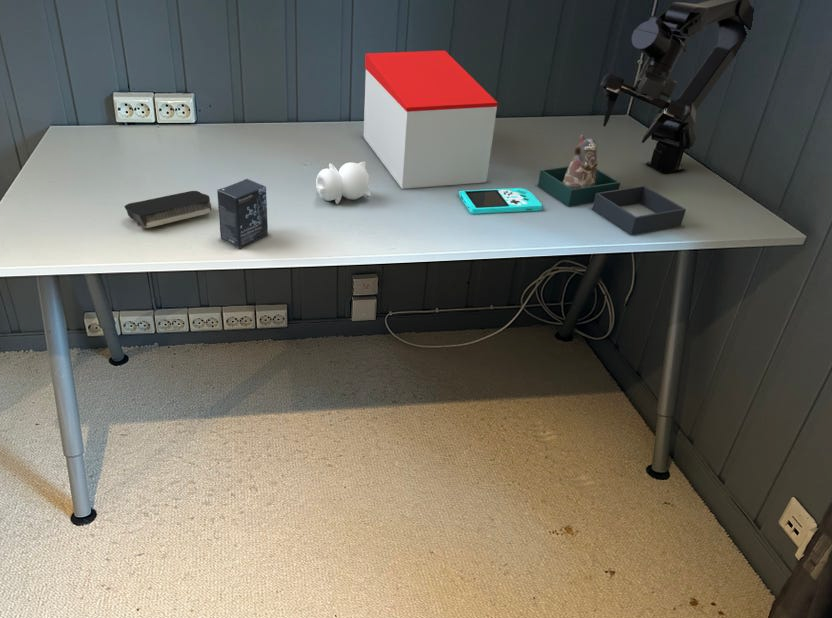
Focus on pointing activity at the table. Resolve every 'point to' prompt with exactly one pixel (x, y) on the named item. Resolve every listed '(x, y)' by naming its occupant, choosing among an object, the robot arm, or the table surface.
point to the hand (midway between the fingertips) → (623, 134)
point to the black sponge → (169, 208)
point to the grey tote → (663, 218)
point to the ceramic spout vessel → (582, 165)
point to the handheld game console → (499, 200)
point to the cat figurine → (343, 182)
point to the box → (242, 213)
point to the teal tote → (554, 185)
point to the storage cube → (427, 119)
